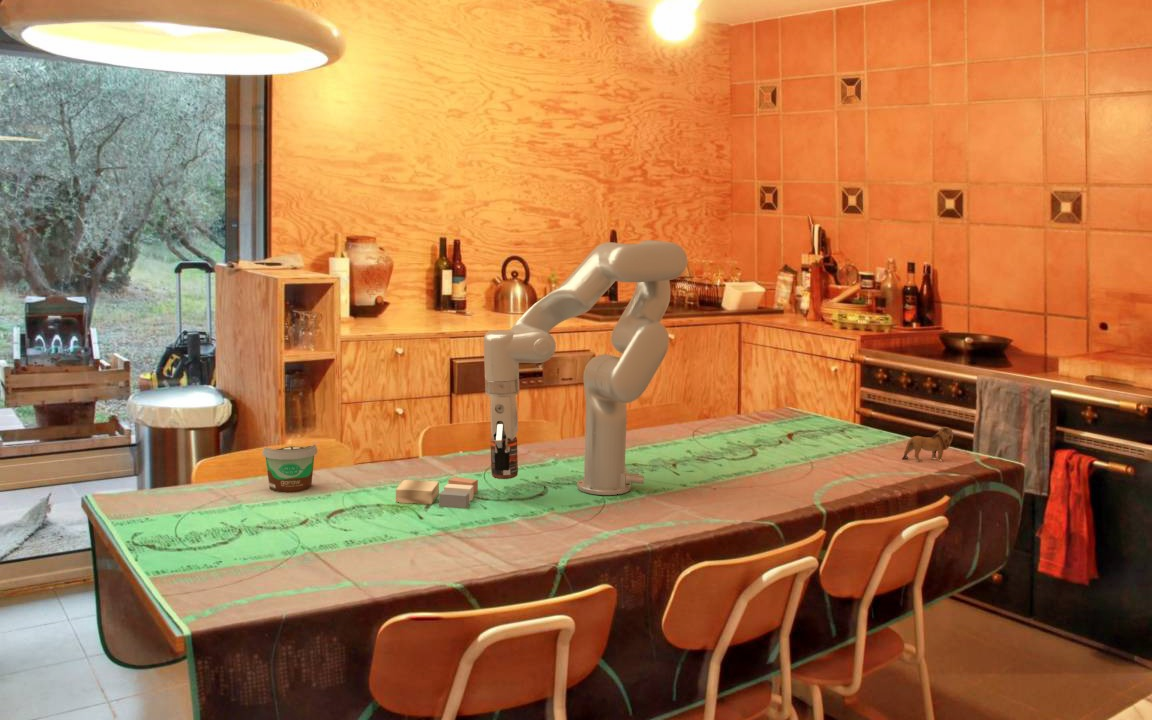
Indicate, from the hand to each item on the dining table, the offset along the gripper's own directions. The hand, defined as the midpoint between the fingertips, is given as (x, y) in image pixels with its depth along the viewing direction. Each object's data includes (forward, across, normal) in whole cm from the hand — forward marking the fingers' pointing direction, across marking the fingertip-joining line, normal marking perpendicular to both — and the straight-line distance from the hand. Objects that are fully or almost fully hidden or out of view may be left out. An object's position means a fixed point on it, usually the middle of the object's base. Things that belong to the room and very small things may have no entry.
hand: (504, 465), depth 236 cm
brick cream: (+8, -1, +10) cm, 13 cm away
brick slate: (+7, -7, +10) cm, 14 cm away
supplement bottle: (+3, 0, 0) cm, 3 cm away
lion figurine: (+14, +55, -107) cm, 121 cm away
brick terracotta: (+8, +4, +10) cm, 14 cm away
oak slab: (+7, -3, +19) cm, 21 cm away
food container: (+6, -1, +48) cm, 49 cm away
